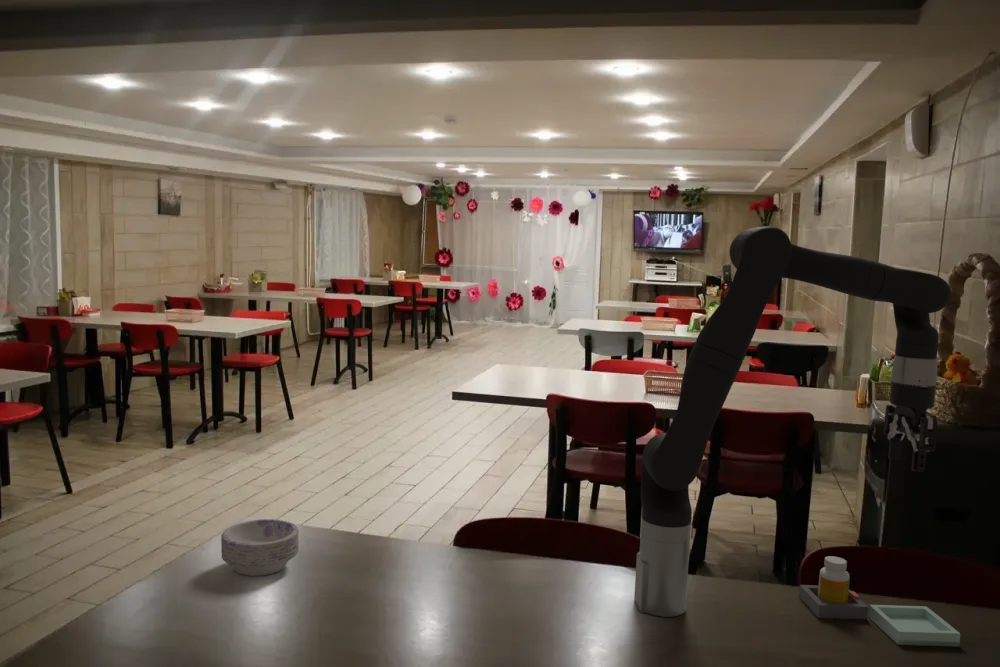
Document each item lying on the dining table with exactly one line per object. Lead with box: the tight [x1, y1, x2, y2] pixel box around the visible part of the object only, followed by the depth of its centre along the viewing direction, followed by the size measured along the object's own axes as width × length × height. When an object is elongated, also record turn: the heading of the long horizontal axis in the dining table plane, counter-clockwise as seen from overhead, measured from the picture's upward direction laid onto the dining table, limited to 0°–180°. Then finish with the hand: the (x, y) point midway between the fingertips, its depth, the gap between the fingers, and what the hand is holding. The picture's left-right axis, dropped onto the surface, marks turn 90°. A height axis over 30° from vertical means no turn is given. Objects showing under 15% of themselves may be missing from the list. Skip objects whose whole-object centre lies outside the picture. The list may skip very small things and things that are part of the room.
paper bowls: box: [220, 518, 300, 577], centre depth 164 cm, size 15×15×8 cm
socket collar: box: [798, 584, 869, 620], centre depth 156 cm, size 9×9×3 cm
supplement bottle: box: [818, 555, 851, 603], centre depth 156 cm, size 5×5×10 cm
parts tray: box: [867, 604, 961, 647], centre depth 147 cm, size 11×11×2 cm
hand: (905, 465), depth 152 cm, fingers open, 8 cm apart
